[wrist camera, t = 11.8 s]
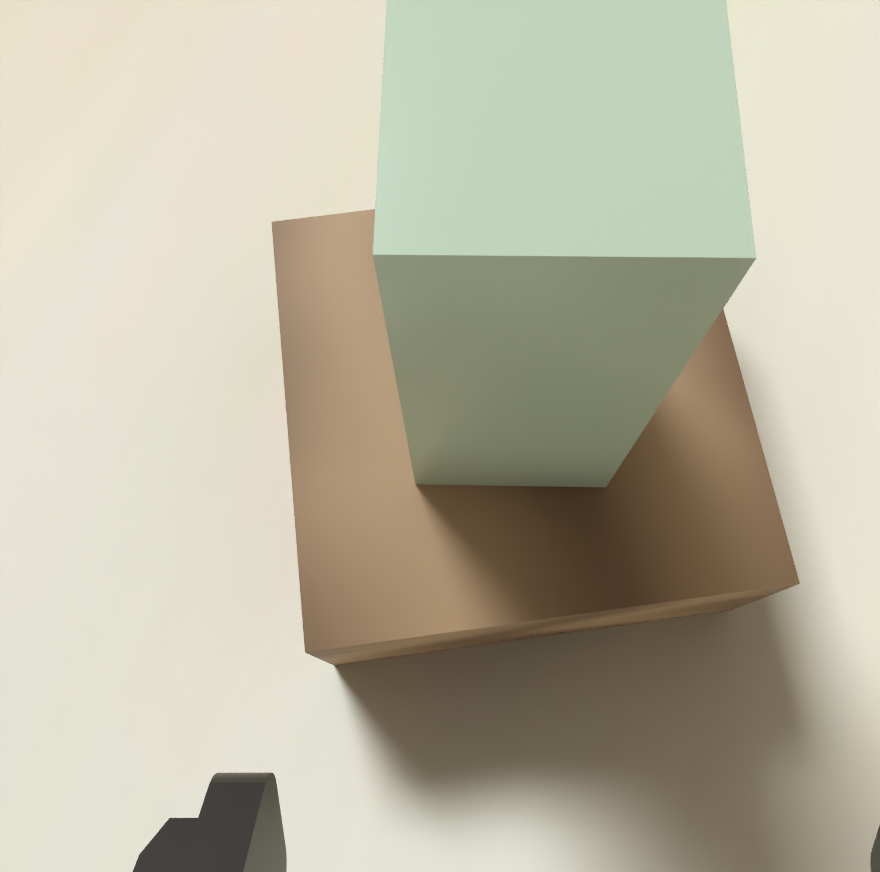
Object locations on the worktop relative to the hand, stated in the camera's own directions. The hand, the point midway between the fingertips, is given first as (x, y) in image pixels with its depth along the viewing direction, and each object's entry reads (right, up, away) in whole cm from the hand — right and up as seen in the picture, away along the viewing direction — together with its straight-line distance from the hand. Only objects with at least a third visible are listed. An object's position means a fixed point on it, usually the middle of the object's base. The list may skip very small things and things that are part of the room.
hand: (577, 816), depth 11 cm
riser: (0, +4, +14) cm, 14 cm away
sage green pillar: (0, +6, +9) cm, 11 cm away
